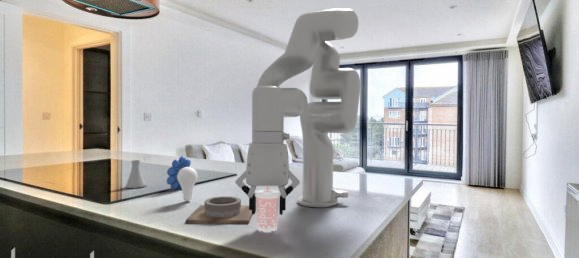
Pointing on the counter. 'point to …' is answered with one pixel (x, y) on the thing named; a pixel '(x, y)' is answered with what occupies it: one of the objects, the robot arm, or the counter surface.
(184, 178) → the lightbulb
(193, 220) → the coaster board
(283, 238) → the counter surface
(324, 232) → the counter surface
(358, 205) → the counter surface
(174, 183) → the grapes
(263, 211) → the beverage cup
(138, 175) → the flask
